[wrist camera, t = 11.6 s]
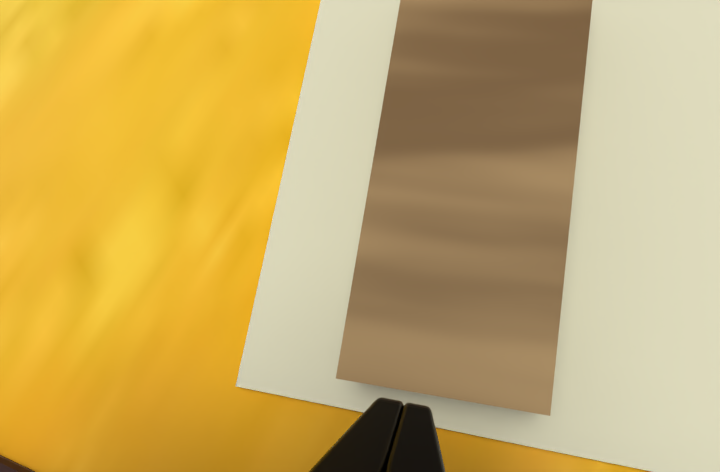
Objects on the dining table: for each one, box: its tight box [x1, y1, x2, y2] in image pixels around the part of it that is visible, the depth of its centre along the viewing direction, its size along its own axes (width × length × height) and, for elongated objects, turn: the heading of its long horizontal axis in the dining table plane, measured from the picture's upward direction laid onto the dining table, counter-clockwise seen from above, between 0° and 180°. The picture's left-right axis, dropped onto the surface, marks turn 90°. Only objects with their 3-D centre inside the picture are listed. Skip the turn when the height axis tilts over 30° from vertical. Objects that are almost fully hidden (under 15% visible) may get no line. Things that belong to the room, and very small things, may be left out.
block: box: [336, 0, 593, 416], centre depth 18 cm, size 3×5×12 cm
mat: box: [236, 0, 720, 472], centre depth 20 cm, size 24×18×1 cm
